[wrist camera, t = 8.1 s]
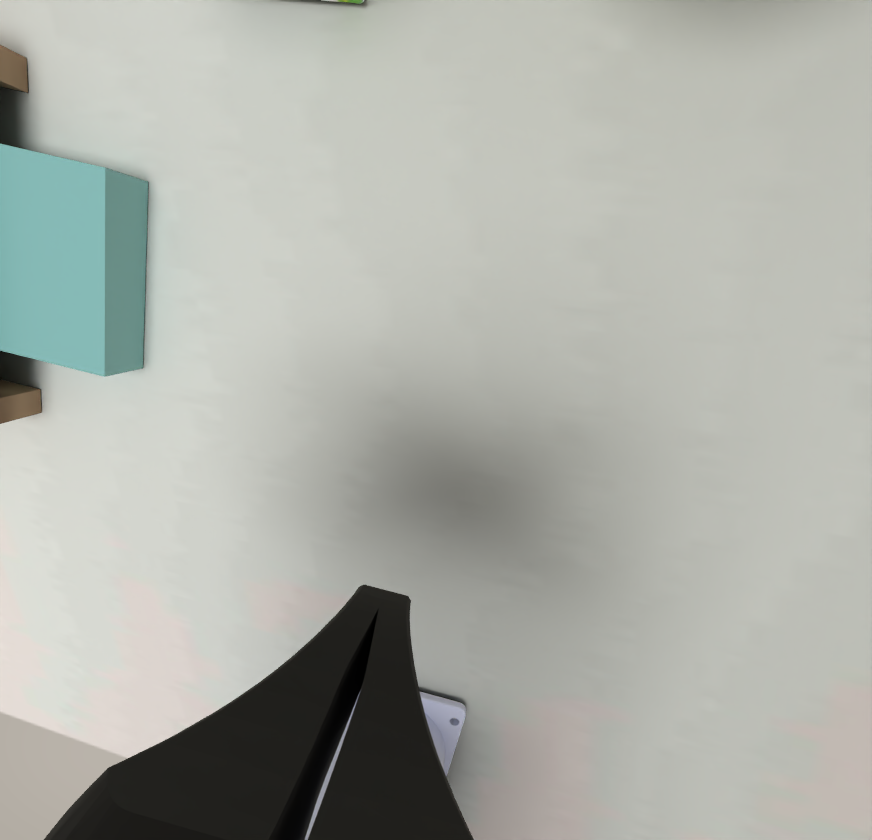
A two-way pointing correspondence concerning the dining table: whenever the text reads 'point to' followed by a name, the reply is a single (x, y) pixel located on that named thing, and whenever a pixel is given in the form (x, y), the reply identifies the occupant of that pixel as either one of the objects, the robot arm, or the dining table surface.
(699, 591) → the dining table surface
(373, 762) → the robot arm
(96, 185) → the teal flat block
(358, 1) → the syrup box
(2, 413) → the walnut overhang
